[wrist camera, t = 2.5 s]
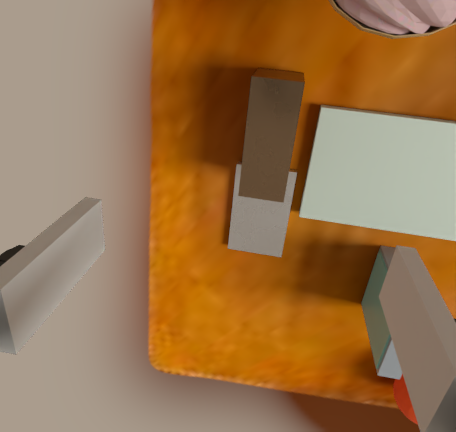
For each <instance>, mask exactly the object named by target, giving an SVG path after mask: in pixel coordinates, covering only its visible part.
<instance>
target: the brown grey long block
mask: <svg viewBox="0 0 456 432" xmlns="http://www.w3.org/2000/svg"><path fill="white" fill-rule="evenodd" d="M304 84H305V81H304V73H300V72H291V71H282V70H274V69H265V68H258V69H257V70H256V72H255V73H254V74H253V75H252V76H251V85H250V94H249V103H248V112H247V121H246V130H245V139H244V148H243V157H242V162H237V165H236V175H235V184H234V194H233V203H232V213H231V222H230V232H229V242H228V249H234V250H240V251H246V252H252V253H258V254H264V255H270V256H276V257H281V256H282V251H283V246H284V240H285V235H286V230H287V224H288V219H289V214H290V208H291V203H292V198H293V192H294V187H295V182H296V176H297V170H295V169H290V163H291V157H292V152H293V146H294V140H295V135H296V129H297V123H298V118H299V112H300V106H301V101H302V95H303V89H304Z"/></svg>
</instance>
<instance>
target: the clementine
mask: <svg viewBox="0 0 456 432" xmlns="http://www.w3.org/2000/svg"><path fill="white" fill-rule="evenodd" d="M393 388H394V398H395V400H396V402H397V405H398V407H399V409H400V410H401V411H402V412H403V414H404V415H405V416H406V417H407V418H408V419H410V420H411V421H412V422H414V423H416V424H417V425H418V422H417V419H416V416H415V413H414V409H413V406H412V403H411V400H410V396H409V393H408V390H407V387H406V383H405V380H404V377H403V374H402V376H401V378H400V380H399V379H395V381H394V385H393Z"/></svg>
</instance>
